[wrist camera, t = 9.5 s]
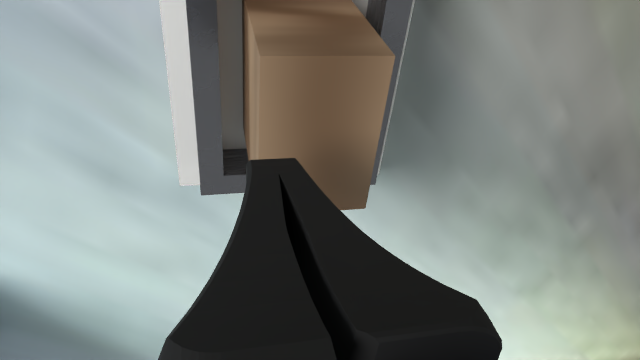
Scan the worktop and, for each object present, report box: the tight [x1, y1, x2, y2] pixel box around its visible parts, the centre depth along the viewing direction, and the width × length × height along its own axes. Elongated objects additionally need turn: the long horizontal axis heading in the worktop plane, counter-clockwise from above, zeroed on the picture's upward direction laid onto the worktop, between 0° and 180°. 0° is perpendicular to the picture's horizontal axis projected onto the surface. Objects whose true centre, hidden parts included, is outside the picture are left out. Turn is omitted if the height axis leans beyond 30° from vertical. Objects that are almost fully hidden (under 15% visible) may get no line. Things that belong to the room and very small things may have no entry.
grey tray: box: [159, 0, 415, 195], centre depth 20 cm, size 10×12×3 cm
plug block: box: [242, 0, 395, 210], centre depth 18 cm, size 4×6×6 cm, turn 175°
